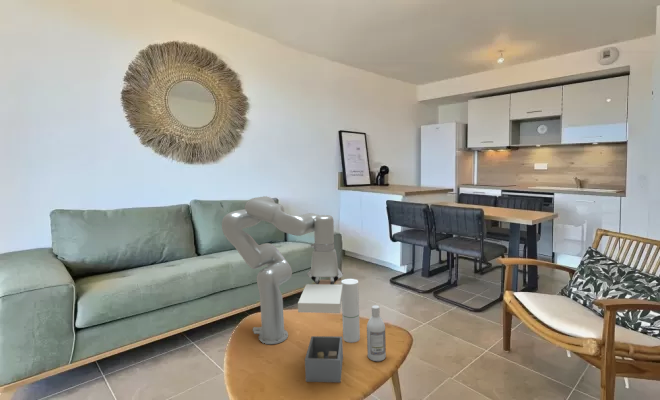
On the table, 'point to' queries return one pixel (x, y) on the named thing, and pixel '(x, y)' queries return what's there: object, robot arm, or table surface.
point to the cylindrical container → (350, 310)
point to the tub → (324, 359)
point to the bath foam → (376, 336)
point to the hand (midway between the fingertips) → (325, 291)
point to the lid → (321, 298)
